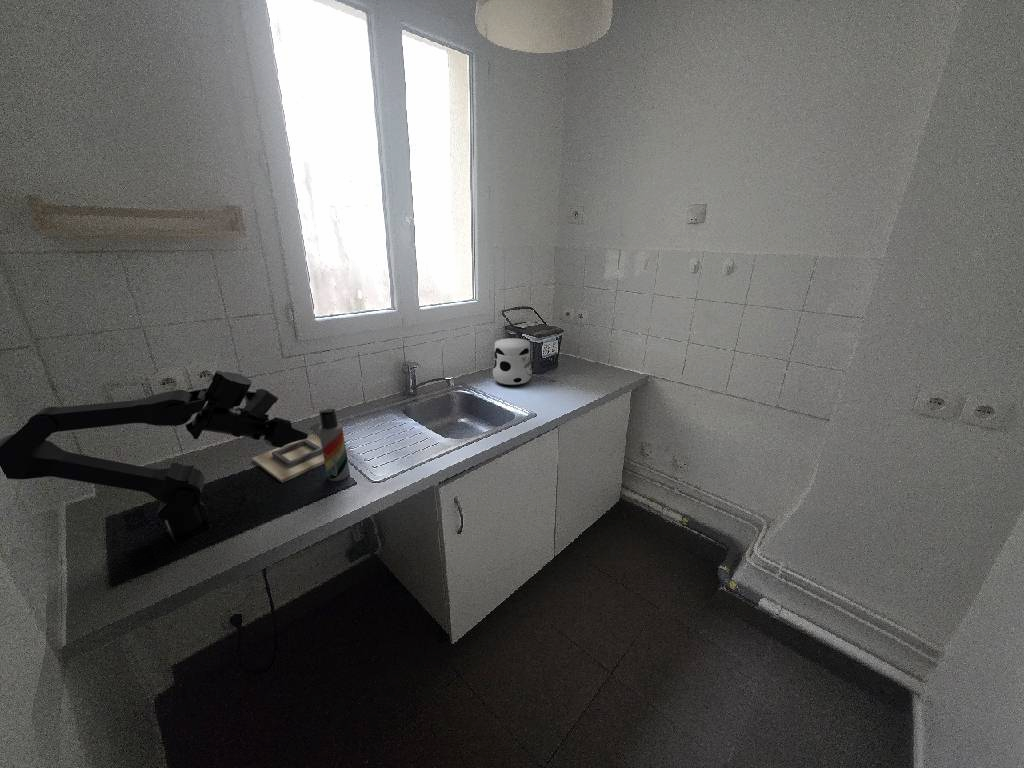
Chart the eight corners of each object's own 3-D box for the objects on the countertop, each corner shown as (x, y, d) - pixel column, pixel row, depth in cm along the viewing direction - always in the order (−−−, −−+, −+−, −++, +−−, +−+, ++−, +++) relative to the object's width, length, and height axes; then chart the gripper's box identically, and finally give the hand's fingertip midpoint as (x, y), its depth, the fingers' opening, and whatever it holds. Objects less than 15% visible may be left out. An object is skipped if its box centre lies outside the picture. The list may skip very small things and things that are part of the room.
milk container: (539, 384, 175) (540, 344, 168) (504, 391, 166) (504, 350, 160) (518, 372, 188) (519, 335, 182) (486, 379, 180) (485, 340, 174)
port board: (282, 482, 106) (280, 475, 105) (252, 461, 116) (250, 453, 115) (343, 454, 120) (342, 447, 119) (312, 437, 130) (311, 430, 129)
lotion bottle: (326, 483, 106) (313, 415, 99) (329, 471, 111) (316, 406, 104) (349, 479, 108) (337, 413, 100) (351, 468, 113) (340, 404, 106)
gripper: (261, 390, 84) (328, 407, 96) (226, 382, 95) (290, 397, 107) (243, 442, 82) (313, 452, 95) (209, 427, 93) (276, 438, 105)
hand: (297, 433), depth 100 cm, fingers open, 9 cm apart
